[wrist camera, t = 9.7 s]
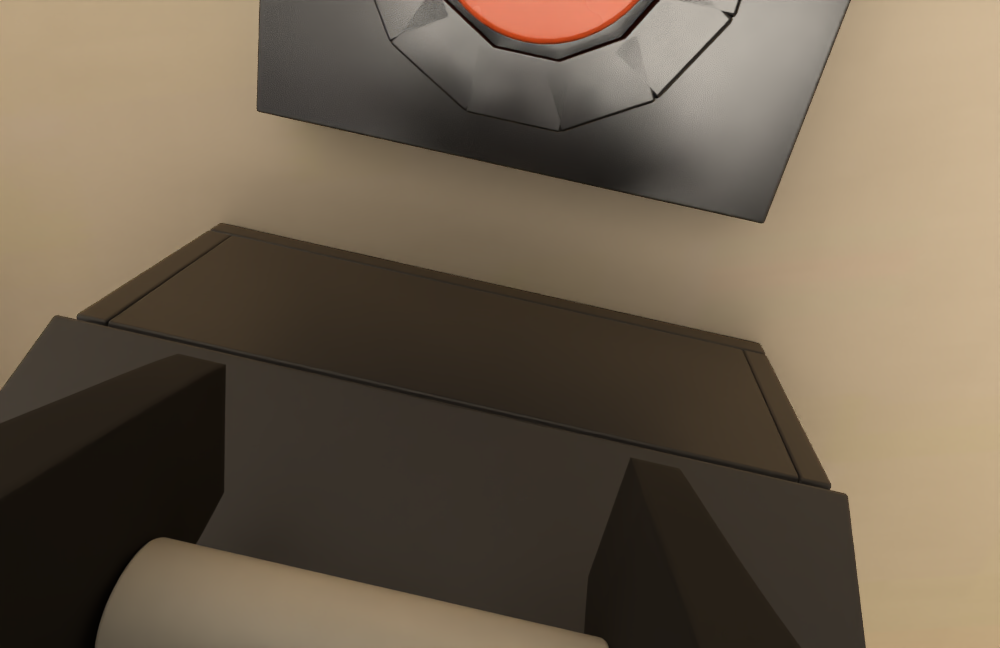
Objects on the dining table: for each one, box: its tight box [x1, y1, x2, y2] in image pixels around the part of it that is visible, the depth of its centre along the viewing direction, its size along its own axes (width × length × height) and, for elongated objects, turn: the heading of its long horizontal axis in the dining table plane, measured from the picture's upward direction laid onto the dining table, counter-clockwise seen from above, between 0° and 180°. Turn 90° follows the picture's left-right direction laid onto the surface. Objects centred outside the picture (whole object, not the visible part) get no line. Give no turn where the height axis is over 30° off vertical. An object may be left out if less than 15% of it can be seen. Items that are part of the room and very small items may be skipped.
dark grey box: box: [77, 223, 831, 490], centre depth 17 cm, size 11×14×6 cm
